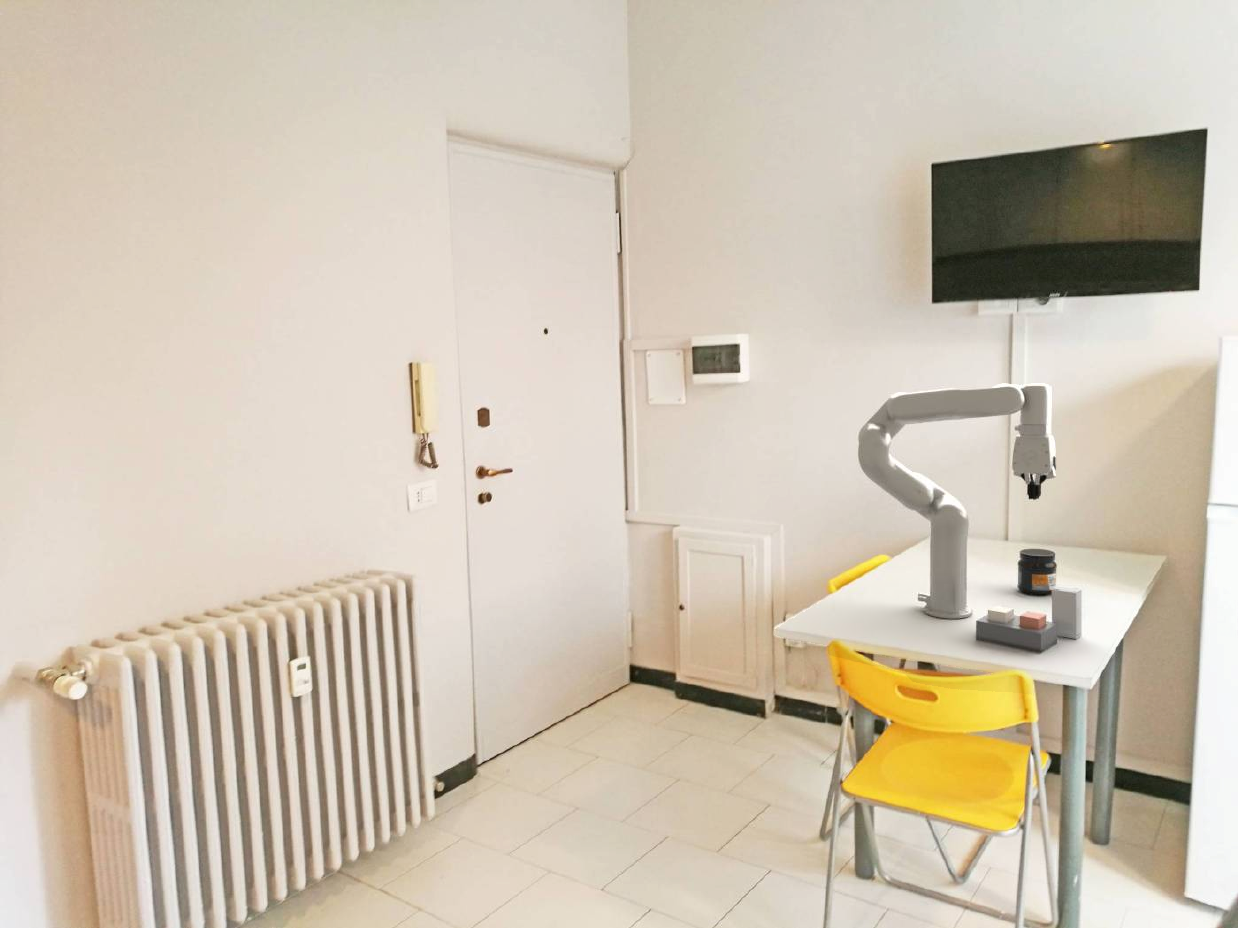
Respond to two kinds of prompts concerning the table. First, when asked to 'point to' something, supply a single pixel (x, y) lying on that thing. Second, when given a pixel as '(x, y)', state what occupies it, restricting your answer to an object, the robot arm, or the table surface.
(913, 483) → the robot arm
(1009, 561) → the table surface
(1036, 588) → the supplement container
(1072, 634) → the skincare box
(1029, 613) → the brick key
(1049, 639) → the key housing
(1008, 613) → the ivory key
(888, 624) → the table surface
